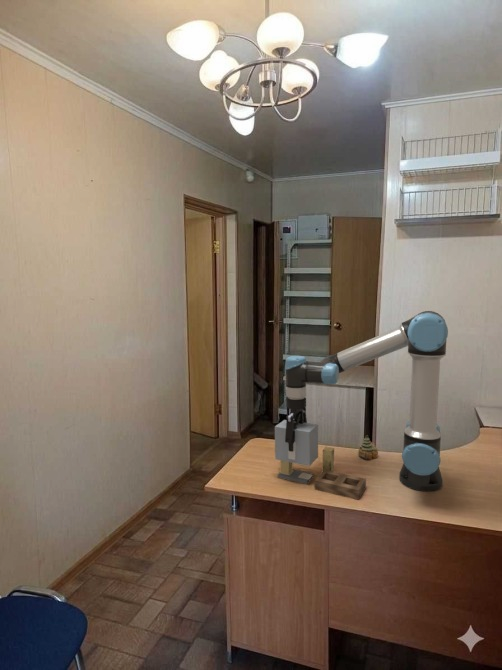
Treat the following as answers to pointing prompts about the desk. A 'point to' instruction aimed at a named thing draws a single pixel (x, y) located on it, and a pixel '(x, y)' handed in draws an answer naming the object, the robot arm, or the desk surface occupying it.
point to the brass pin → (328, 459)
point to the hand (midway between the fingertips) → (297, 454)
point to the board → (293, 473)
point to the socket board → (340, 484)
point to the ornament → (367, 449)
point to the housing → (298, 443)
